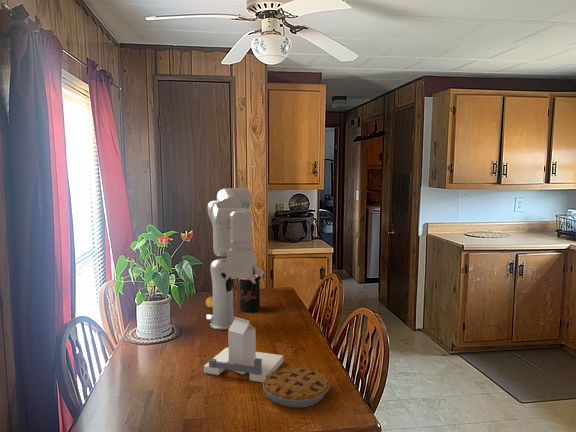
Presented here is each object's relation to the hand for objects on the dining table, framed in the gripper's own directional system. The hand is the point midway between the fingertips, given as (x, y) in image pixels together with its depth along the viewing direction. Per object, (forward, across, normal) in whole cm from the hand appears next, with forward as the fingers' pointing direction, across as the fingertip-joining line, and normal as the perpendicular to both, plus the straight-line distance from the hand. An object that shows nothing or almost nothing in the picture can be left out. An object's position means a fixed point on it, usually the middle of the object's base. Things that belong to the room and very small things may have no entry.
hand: (241, 292), depth 163 cm
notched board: (+29, 0, +1) cm, 29 cm away
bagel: (+31, -45, +65) cm, 85 cm away
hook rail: (+26, 0, -7) cm, 27 cm away
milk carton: (+29, 0, 0) cm, 29 cm away
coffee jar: (+30, -26, +65) cm, 76 cm away
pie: (+29, +24, -11) cm, 39 cm away
